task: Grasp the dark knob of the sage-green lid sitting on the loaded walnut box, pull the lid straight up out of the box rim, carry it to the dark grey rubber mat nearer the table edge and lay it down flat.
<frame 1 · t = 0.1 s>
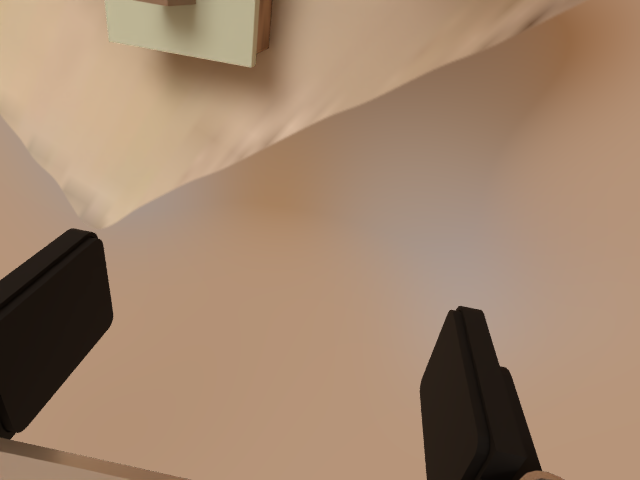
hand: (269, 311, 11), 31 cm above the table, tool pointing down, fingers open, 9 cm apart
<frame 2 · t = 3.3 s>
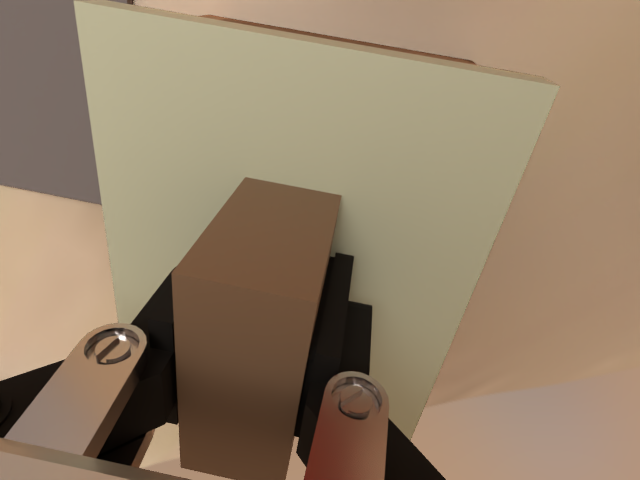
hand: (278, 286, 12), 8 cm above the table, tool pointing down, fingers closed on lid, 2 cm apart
lid: (290, 255, 14), point 6 cm above the table, touching gripper
box: (316, 184, 19), on the table
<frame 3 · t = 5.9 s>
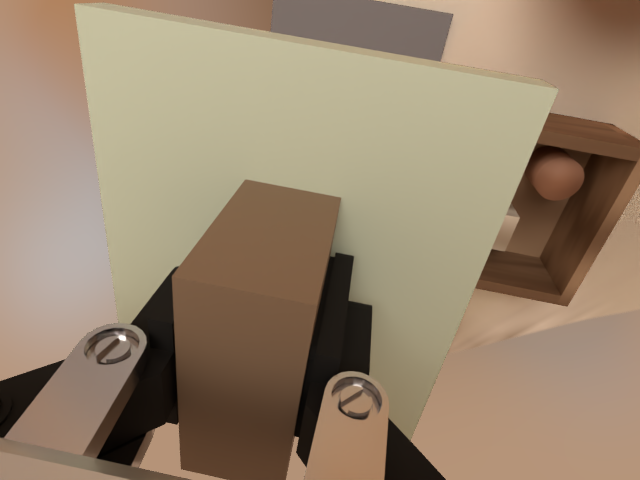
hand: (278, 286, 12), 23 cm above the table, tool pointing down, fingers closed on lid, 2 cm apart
mat: (344, 104, 32), on the table
lid: (289, 257, 14), point 21 cm above the table, touching gripper
box: (510, 187, 33), on the table
when the fingers open (5 cm above the table, at t = 8.6 s): lid drops 2 cm, resting on mat.
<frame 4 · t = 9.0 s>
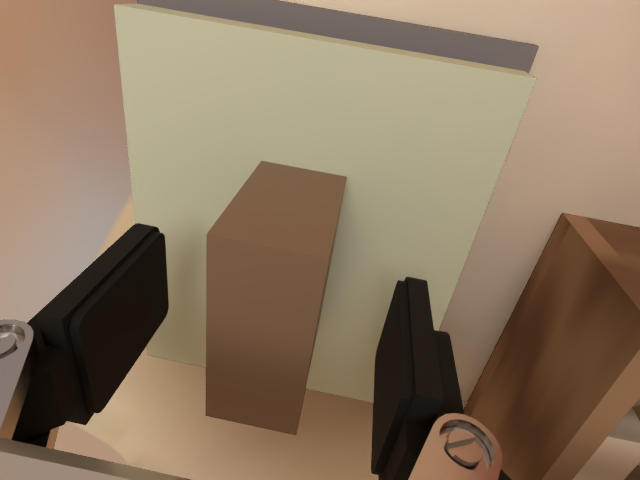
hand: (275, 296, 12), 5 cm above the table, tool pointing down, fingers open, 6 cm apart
mat: (305, 214, 16), on the table
lid: (299, 234, 15), point 1 cm above the table, touching mat
box: (619, 360, 18), on the table
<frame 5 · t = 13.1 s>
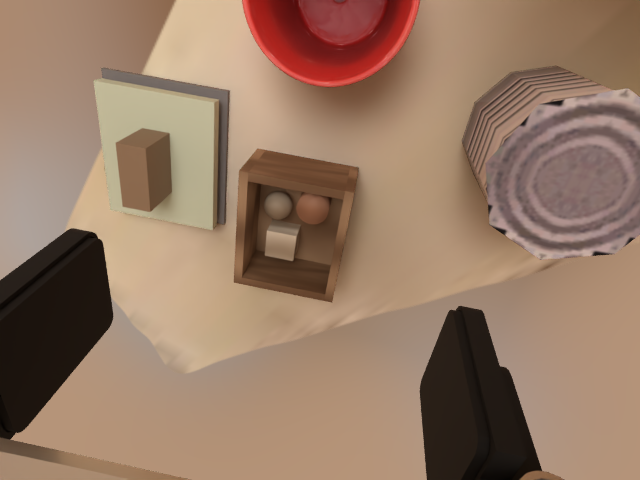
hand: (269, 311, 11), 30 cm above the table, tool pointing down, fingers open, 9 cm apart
mat: (169, 151, 43), on the table
lid: (163, 157, 42), point 1 cm above the table, touching mat
box: (300, 212, 44), on the table
can: (527, 132, 37), on the table
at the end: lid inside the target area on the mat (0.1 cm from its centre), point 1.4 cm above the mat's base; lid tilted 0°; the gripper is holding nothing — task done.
